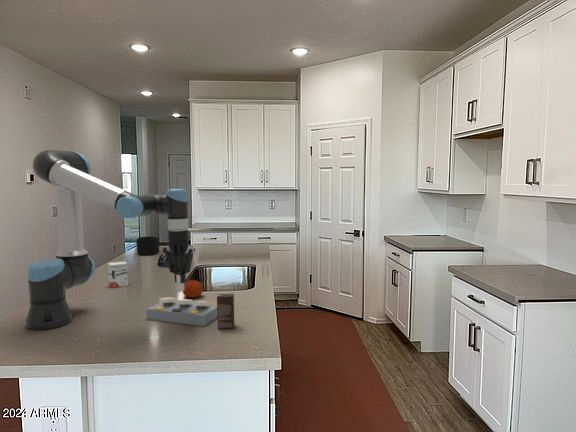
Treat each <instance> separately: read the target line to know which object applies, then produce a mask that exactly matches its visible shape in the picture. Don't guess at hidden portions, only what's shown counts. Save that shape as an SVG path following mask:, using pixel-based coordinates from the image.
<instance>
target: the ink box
mask: <svg viewBox="0 0 576 432" xmlns="http://www.w3.org/2000/svg"><path fill="white" fill-rule="evenodd" d="M107 273H108V274H107V276H108V277H107V279H108V280H107V281H108V287H109V288H110V289H113V288H120V287H128V286H129V280H128V279H129V276H128V274H129V273H128V263H127V261H116V262H108V263H107Z"/></svg>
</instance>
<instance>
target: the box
mask: <svg viewBox="0 0 576 432" xmlns="http://www.w3.org/2000/svg"><path fill="white" fill-rule="evenodd" d="M216 304H217V315H218V317H217V329H218V330H222V329H228V330H229V329H235V293H233V292H232V293H217V295H216Z"/></svg>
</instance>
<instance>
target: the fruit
mask: <svg viewBox="0 0 576 432" xmlns="http://www.w3.org/2000/svg"><path fill="white" fill-rule="evenodd" d="M203 291H204V287H203V284H202V283H201V282H200V281H198V280H195V279H190V280H188V281H187V282H184V291H182V294H183V295H184V296H185V297H187V298H190V299H194V298H198V297H200V296H201V295H202V293H203Z"/></svg>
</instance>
